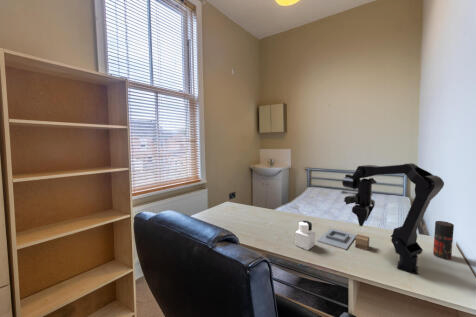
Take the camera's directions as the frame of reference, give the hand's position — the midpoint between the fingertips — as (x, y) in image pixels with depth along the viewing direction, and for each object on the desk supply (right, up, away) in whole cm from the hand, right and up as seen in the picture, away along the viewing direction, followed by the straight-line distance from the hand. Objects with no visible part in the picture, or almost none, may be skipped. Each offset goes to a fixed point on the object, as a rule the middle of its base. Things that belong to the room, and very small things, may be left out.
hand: (363, 223), depth 106 cm
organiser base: (-8, -11, +10) cm, 17 cm away
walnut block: (0, -12, +1) cm, 12 cm away
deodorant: (+30, -12, -8) cm, 34 cm away
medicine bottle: (-27, -12, +3) cm, 30 cm away
